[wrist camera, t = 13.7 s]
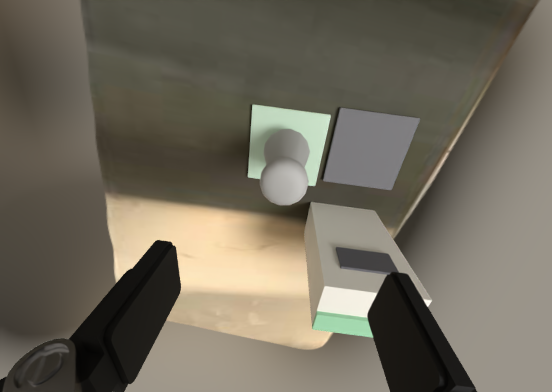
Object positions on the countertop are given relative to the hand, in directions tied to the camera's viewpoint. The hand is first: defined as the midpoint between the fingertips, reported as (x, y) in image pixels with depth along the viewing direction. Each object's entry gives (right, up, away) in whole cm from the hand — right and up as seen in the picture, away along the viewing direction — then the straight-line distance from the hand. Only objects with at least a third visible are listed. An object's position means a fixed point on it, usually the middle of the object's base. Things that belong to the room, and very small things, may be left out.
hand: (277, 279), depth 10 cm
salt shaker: (+1, +10, +20) cm, 23 cm away
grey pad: (+12, +10, +20) cm, 26 cm away
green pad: (+1, +10, +21) cm, 23 cm away
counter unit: (+10, -1, +26) cm, 28 cm away
